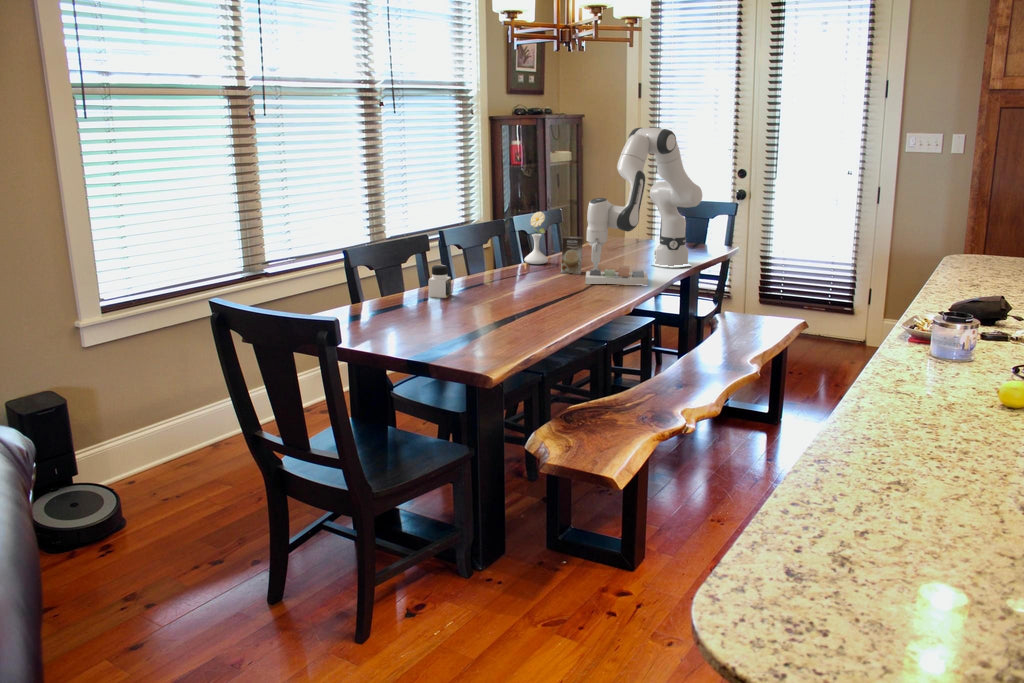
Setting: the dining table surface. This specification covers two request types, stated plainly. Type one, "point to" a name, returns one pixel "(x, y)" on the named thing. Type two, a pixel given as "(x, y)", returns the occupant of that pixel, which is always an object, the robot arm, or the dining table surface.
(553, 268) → the dining table surface
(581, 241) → the coffee box
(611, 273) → the key sage
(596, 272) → the key charcoal
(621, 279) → the keypad
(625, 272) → the key terracotta
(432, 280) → the medicine bottle
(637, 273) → the key slate
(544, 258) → the flower in vase
